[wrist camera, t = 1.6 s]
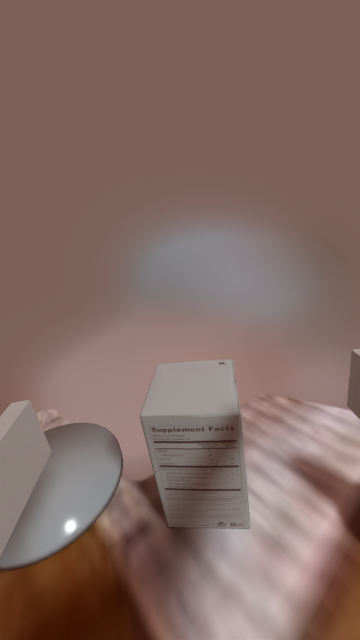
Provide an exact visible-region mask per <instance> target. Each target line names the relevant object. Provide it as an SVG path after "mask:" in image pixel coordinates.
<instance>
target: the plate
mask: <svg viewBox="0 0 360 640" xmlns="http://www.w3.org/2000/svg"><path fill="white" fill-rule="evenodd" d="M44 434H45V437H46V439H47V441H48V444H49V446H50V449H51V453H50V456H49V458H48V460H47V462H46V464H45V466H44V468H43V470H42V472H41V474H40V476H39V478H38V480H37V482H36V484H35V486H34V488H33V491H32V493H31V495H30V497H29V499H28V501H27V503H26V505H25V507H24V509H23V511H22V513H21V515H20V517H19V519H18V521H17V523H16V526H15V528H14V530H13V532H12V534H11V536H10V538H9V540H8V542H7V544H6V546H5V548H4V550H3V552H2V554H1V556H0V571H5V570H14V569H20V568H24V567H27V566H30V565H34V564H36V563H38V562H41V561H43V560H45V559H47V558H49V557H51V556H53V555H55V554H56V553H58V552H60V551H61V550H63V549H64V548H66V547H67V546H69V545H70V544H71V543H73V542H74V541H75V540H76V539H78V538H79V537H80V536H81V535H82V534H84V533H85V532H86V531H87V530H88V529H89V528H90V527H91V526H92V525H93V524H94V522H95V521H96V520H97V519H98V518H99V517H100V515H101V514H102V513H103V511H104V510H105V509H106V507H107V506H108V504H109V503H110V501H111V499H112V497H113V496H114V494H115V492H116V489H117V487H118V485H119V482H120V478H121V475H122V468H123V458H122V453H121V449H120V446H119V443H118V441H117V439H116V437H115V436H114V435H113V434H112V433H111V432H110V431H109V430H108V429H106V428H104V427H102V426H99V425H96V424H90V423H74V424H67V425H63V426H59V427H56V428H53V429H50V430H47V431H45V432H44Z"/></svg>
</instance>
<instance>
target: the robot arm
mask: <svg viewBox="0 0 360 640" xmlns="http://www.w3.org/2000/svg"><path fill="white" fill-rule="evenodd" d="M347 406H348V407H349V408H350V409H351V410H352V411H353V412H354V413H355V415H356V416H357V417H358V418H359V419H360V349H355V350H352V354H351V366H350V378H349V389H348V402H347ZM50 453H51V449H50V446H49V444H48V441H47V439H46V437H45V434H44V432H43V429H42V427H41V425H40V422H39V420H38V418H37V415H36V413H35V410H34V408H33V406H32V403H31V401H30V400H28V401H21V402H14V403H11V405H10V406H9V407H8V408H7V409H6V410H5V412H4V413H3V414H2V415H1V417H0V556H1V554H2V552H3V550H4V548H5V546H6V544H7V542H8V540H9V538H10V536H11V534H12V532H13V530H14V528H15V526H16V523H17V521H18V519H19V517H20V515H21V513H22V511H23V509H24V507H25V505H26V503H27V501H28V499H29V497H30V495H31V493H32V491H33V488H34V486H35V484H36V482H37V480H38V478H39V476H40V474H41V472H42V470H43V468H44V466H45V464H46V462H47V460H48V458H49V456H50Z"/></svg>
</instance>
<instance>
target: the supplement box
mask: <svg viewBox="0 0 360 640" xmlns="http://www.w3.org/2000/svg"><path fill="white" fill-rule="evenodd" d="M140 419H141V423H142V427H143V431H144V435H145V439H146V443H147V447H148V451H149V455H150V459H151V463H152V467H153V471H154V475H155V479H156V483H157V487H158V491H159V495H160V499H161V503H162V506H163V510H164V514H165V518H166V522H167V525H168V526H169V527H189V528H221V529H223V528H224V529H249V528H250V517H249V503H248V492H247V481H246V468H245V456H244V444H243V432H242V422H241V413H240V406H239V399H238V392H237V384H236V378H235V371H234V363H233V360H231V359H230V360H229V359H225V360H223V359H222V360H207V361H194V362H180V363H166V364H158V365H157V367H156V370H155V373H154V376H153V379H152V382H151V384H150V387H149V390H148V393H147V396H146V399H145V402H144V405H143V408H142V411H141V414H140Z"/></svg>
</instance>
